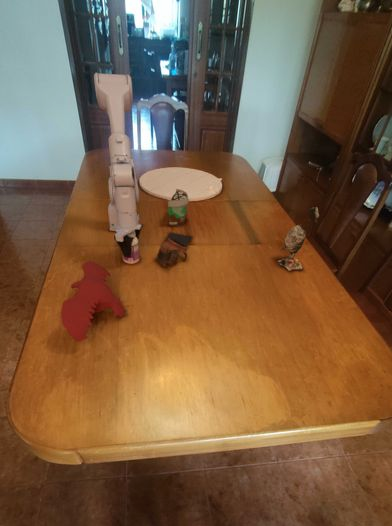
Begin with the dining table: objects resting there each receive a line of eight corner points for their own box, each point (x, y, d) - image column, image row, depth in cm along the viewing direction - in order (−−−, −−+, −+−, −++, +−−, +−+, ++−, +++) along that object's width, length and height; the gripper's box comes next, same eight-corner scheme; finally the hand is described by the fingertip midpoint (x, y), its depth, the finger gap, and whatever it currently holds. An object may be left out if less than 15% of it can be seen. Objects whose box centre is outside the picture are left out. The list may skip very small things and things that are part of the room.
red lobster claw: (119, 294, 98) (78, 260, 89) (140, 279, 93) (99, 242, 85) (96, 364, 78) (42, 329, 70) (121, 349, 74) (66, 310, 65)
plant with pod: (294, 254, 113) (313, 196, 98) (305, 272, 105) (327, 212, 90) (272, 254, 112) (288, 196, 97) (281, 272, 104) (300, 212, 90)
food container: (183, 230, 120) (184, 203, 113) (168, 227, 120) (168, 200, 113) (190, 216, 128) (192, 190, 121) (176, 214, 129) (176, 188, 122)
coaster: (163, 243, 112) (163, 243, 112) (169, 233, 117) (169, 232, 117) (185, 247, 111) (185, 246, 111) (190, 237, 117) (190, 236, 116)
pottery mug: (152, 256, 107) (162, 233, 104) (177, 267, 111) (188, 245, 108) (157, 267, 97) (168, 242, 94) (184, 278, 101) (196, 255, 98)
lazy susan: (237, 183, 156) (238, 176, 154) (194, 209, 133) (195, 201, 130) (171, 164, 169) (171, 157, 167) (122, 185, 146) (121, 177, 143)
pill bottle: (119, 261, 102) (116, 233, 95) (127, 254, 106) (125, 226, 99) (134, 266, 101) (132, 237, 94) (142, 258, 105) (140, 230, 98)
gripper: (130, 222, 86) (134, 265, 96) (147, 201, 96) (149, 243, 106) (105, 218, 87) (112, 261, 97) (125, 198, 97) (129, 239, 107)
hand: (130, 251), depth 101 cm, fingers closed on pill bottle, 5 cm apart
